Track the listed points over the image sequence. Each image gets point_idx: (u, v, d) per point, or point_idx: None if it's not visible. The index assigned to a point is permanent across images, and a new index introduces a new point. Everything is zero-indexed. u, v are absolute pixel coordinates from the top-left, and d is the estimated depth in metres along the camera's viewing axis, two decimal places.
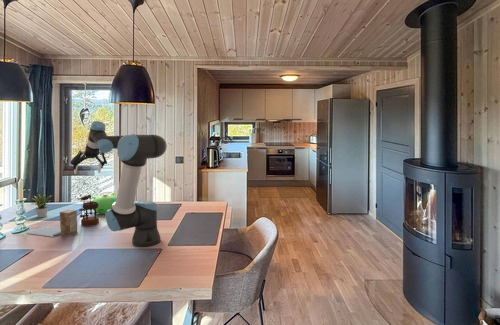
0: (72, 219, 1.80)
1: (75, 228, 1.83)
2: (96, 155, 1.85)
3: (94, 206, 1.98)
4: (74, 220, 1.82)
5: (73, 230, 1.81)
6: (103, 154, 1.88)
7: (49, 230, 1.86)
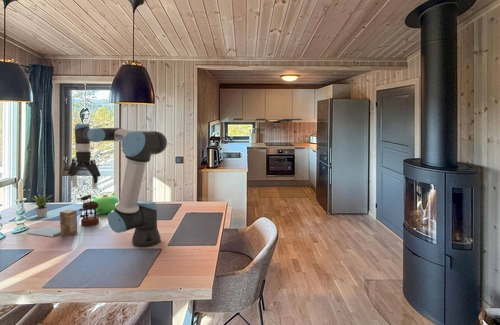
0: (72, 219, 1.80)
1: (75, 228, 1.83)
2: (85, 163, 1.73)
3: (94, 206, 1.98)
4: (74, 220, 1.82)
5: (73, 230, 1.81)
6: (91, 162, 1.72)
7: (49, 230, 1.86)
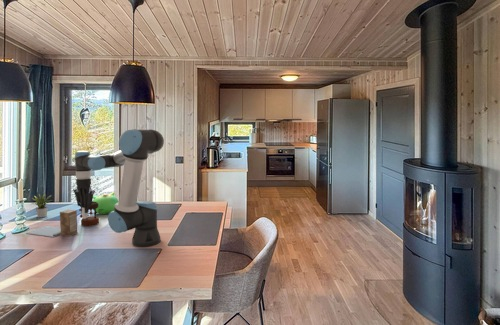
0: (72, 219, 1.80)
1: (75, 228, 1.83)
2: (85, 191, 1.75)
3: (94, 206, 1.98)
4: (74, 220, 1.82)
5: (73, 230, 1.81)
6: (90, 193, 1.74)
7: (49, 230, 1.86)
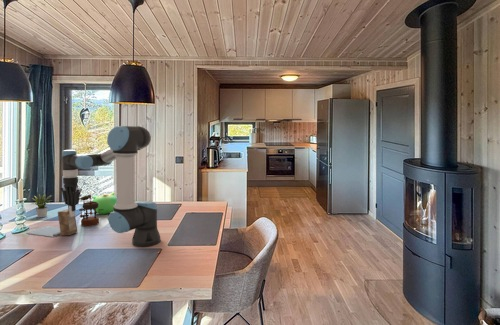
0: (70, 218, 1.80)
1: (74, 227, 1.83)
2: (72, 190, 1.77)
3: (94, 206, 1.98)
4: (73, 219, 1.82)
5: (72, 229, 1.81)
6: (77, 191, 1.76)
7: (49, 230, 1.86)
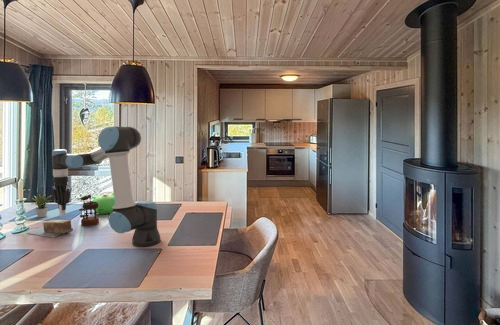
0: (52, 221, 1.84)
1: (64, 220, 1.84)
2: (62, 189, 1.79)
3: (94, 206, 1.98)
4: (57, 220, 1.85)
5: (62, 221, 1.82)
6: (67, 190, 1.78)
7: None
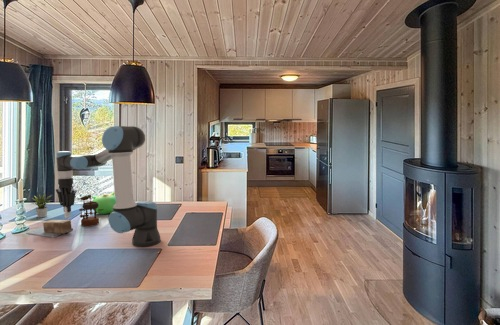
0: (52, 221, 1.84)
1: (64, 220, 1.84)
2: (67, 191, 1.78)
3: (94, 206, 1.98)
4: (57, 220, 1.85)
5: (62, 221, 1.82)
6: (72, 192, 1.77)
7: None
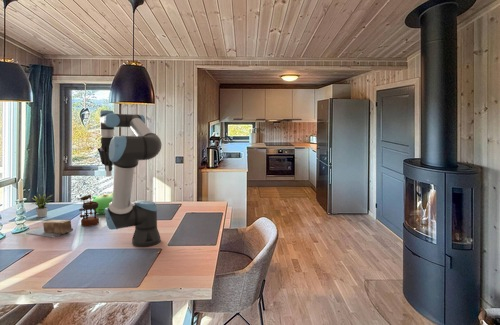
0: (52, 221, 1.84)
1: (64, 220, 1.84)
2: None
3: (94, 206, 1.98)
4: (57, 220, 1.85)
5: (62, 221, 1.82)
6: None
7: None
